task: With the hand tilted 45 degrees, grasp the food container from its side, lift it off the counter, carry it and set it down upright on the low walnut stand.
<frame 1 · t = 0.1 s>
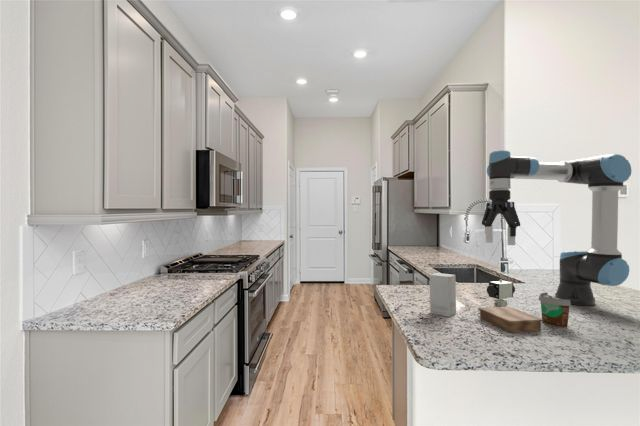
hand: (499, 243, 145), 28 cm above the countertop, tool pointing down, fingers open, 13 cm apart
pneumatic valve: (499, 308, 154), on the countertop
skincare box: (442, 314, 144), on the countertop
food container: (549, 323, 133), on the countertop
stand: (508, 324, 131), on the countertop
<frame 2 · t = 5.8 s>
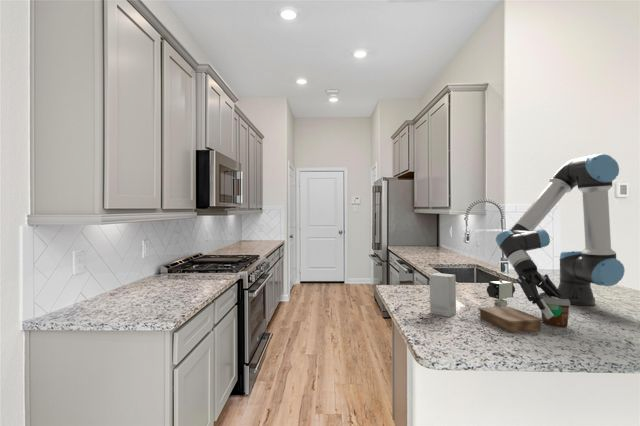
hand: (558, 316, 130), 3 cm above the countertop, tool tilted 45°, fingers closed on food container, 7 cm apart
food container: (549, 323, 133), on the countertop, touching gripper
everything else where it was.
when the fingers open (9 cm above the countertop, at t = 10.2 s): food container drops 1 cm, resting on stand.
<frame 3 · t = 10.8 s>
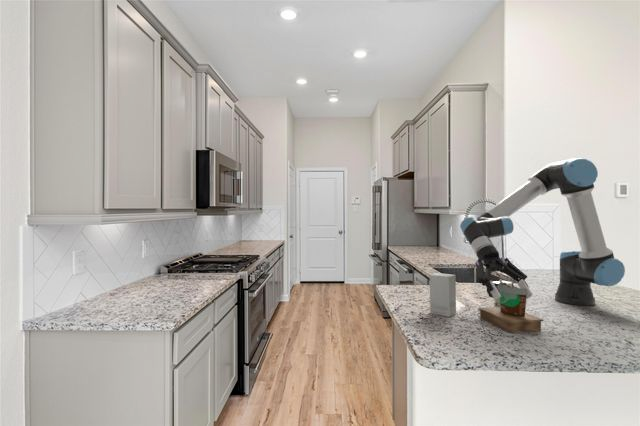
hand: (514, 297, 129), 10 cm above the countertop, tool tilted 45°, fingers open, 13 cm apart
food container: (507, 313, 132), point 4 cm above the countertop, touching stand
everything else where it was.
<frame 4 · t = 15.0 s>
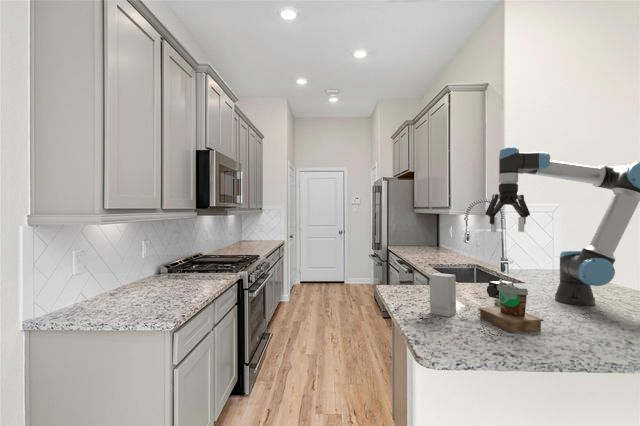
hand: (507, 232, 160), 32 cm above the countertop, tool pointing down, fingers open, 13 cm apart
nothing on the countertop moved.
at the end: food container inside the target area on the stand (0.4 cm from its centre), point 3.8 cm above the stand's base; food container tilted 0°; the gripper is holding nothing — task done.
